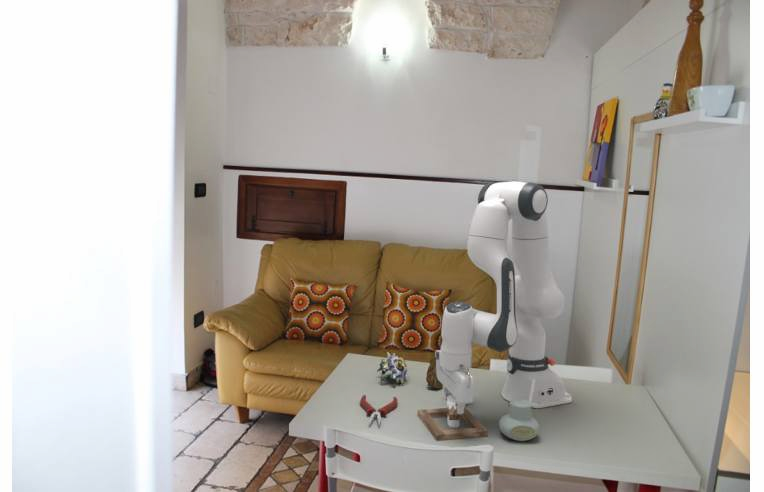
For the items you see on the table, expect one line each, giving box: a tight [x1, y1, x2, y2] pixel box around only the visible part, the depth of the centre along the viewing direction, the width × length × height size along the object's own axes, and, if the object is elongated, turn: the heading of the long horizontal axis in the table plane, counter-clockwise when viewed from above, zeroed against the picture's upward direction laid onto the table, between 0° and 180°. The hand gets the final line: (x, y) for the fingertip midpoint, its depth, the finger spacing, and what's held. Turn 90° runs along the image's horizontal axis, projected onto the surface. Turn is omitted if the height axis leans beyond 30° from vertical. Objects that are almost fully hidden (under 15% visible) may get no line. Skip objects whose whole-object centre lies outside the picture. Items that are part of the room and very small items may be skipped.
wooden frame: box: [416, 406, 489, 441], centre depth 177 cm, size 15×17×2 cm
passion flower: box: [376, 351, 409, 385], centre depth 211 cm, size 11×11×12 cm
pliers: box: [359, 394, 398, 427], centre depth 183 cm, size 11×20×3 cm, turn 176°
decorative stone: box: [425, 357, 443, 390], centre depth 207 cm, size 10×9×4 cm
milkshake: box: [446, 394, 461, 429], centre depth 176 cm, size 4×5×10 cm
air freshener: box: [498, 399, 540, 442], centre depth 171 cm, size 11×8×10 cm
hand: (453, 406), depth 176 cm, fingers open, 8 cm apart
